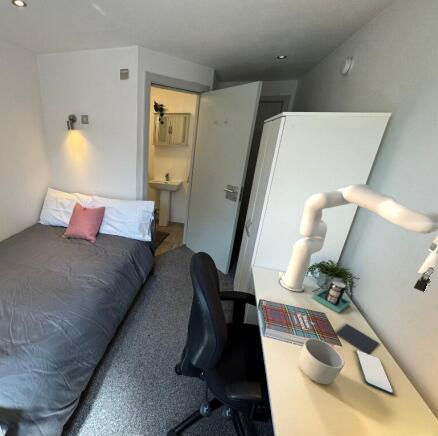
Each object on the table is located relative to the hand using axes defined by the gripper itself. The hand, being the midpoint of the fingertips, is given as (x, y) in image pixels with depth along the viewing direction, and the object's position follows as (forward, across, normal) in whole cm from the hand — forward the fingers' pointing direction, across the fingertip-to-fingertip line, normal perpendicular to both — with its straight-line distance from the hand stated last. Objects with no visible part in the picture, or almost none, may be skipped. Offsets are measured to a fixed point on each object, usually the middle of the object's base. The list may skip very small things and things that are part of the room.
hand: (422, 286), depth 94 cm
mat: (+31, +12, -8) cm, 34 cm away
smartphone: (+31, +26, +2) cm, 41 cm away
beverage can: (+31, -6, -26) cm, 41 cm away
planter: (+31, +48, -9) cm, 58 cm away
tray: (+31, -6, -26) cm, 41 cm away
